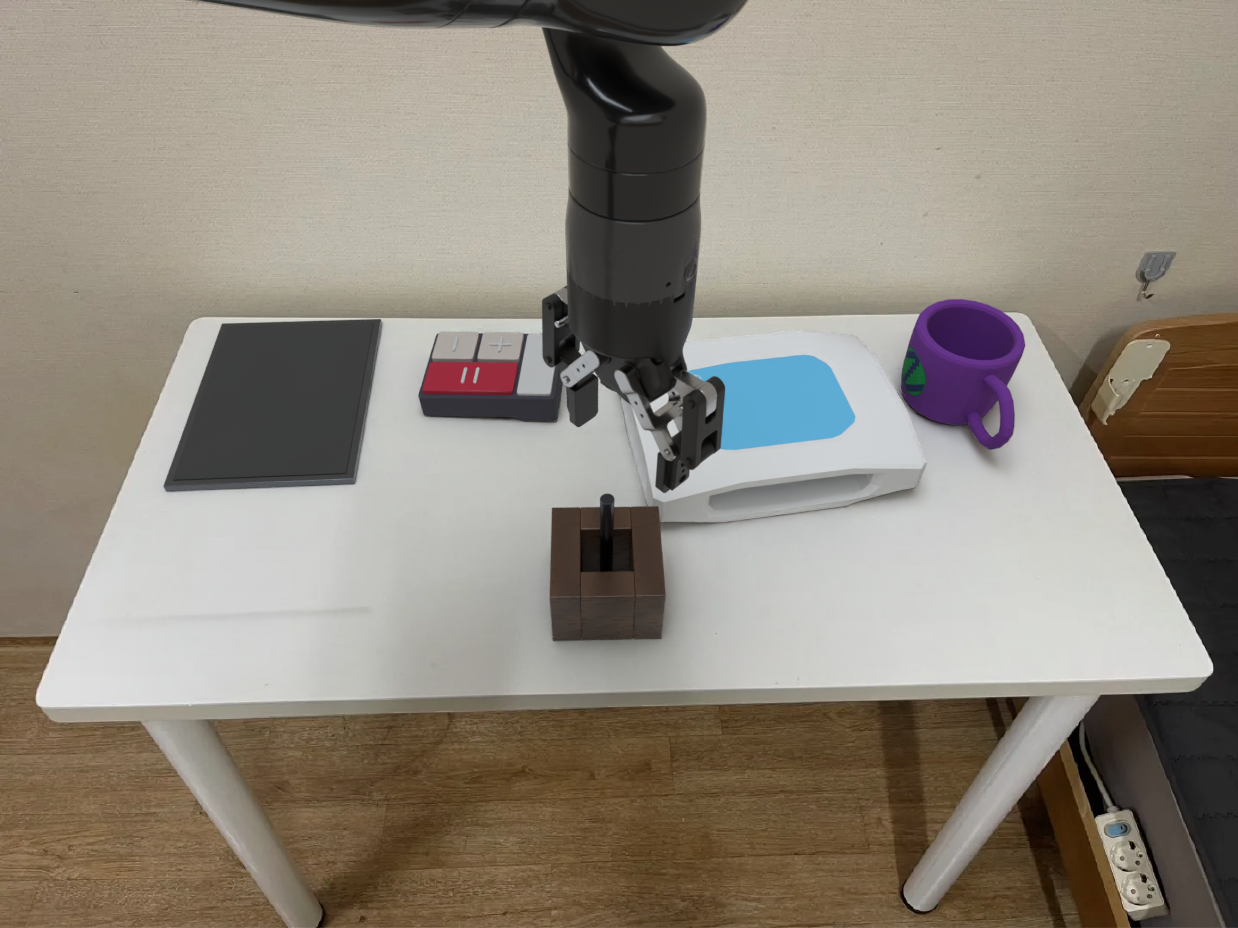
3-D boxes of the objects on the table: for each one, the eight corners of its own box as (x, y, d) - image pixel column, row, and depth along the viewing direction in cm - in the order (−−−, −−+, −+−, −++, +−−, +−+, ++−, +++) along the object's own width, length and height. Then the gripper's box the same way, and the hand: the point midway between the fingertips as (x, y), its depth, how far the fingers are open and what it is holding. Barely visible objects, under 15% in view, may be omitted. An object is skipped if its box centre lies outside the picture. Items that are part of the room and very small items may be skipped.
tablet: (354, 484, 92) (352, 478, 91) (165, 491, 90) (162, 485, 90) (382, 323, 109) (380, 317, 108) (223, 328, 108) (221, 322, 107)
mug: (878, 370, 105) (900, 302, 97) (967, 359, 106) (995, 291, 99) (941, 480, 93) (971, 412, 86) (1040, 466, 95) (1077, 398, 88)
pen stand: (552, 641, 80) (549, 597, 74) (554, 552, 86) (551, 507, 81) (661, 639, 80) (665, 595, 75) (655, 551, 87) (658, 505, 81)
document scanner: (917, 497, 92) (934, 456, 87) (652, 533, 88) (655, 492, 83) (846, 363, 106) (858, 321, 101) (615, 389, 102) (616, 347, 97)
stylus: (603, 601, 83) (604, 506, 72) (597, 592, 83) (597, 496, 73) (614, 596, 83) (617, 501, 73) (608, 587, 84) (610, 491, 73)
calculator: (435, 327, 103) (563, 328, 102) (441, 355, 106) (566, 356, 105) (415, 392, 96) (554, 394, 95) (423, 420, 99) (557, 422, 98)
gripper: (500, 231, 52) (519, 425, 64) (679, 347, 45) (662, 539, 57) (593, 184, 56) (594, 376, 68) (771, 285, 49) (737, 478, 61)
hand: (625, 451), depth 62 cm, fingers open, 8 cm apart
